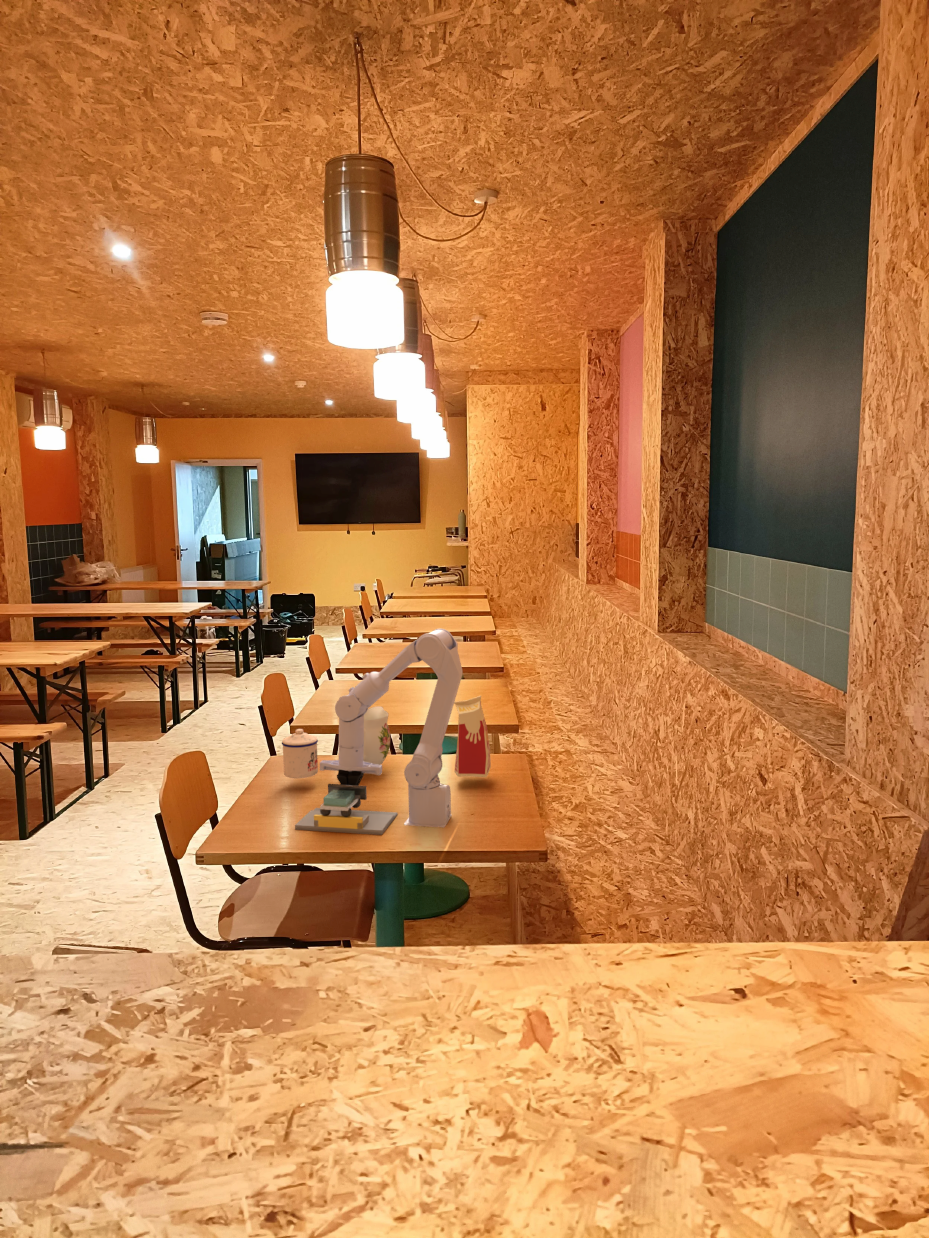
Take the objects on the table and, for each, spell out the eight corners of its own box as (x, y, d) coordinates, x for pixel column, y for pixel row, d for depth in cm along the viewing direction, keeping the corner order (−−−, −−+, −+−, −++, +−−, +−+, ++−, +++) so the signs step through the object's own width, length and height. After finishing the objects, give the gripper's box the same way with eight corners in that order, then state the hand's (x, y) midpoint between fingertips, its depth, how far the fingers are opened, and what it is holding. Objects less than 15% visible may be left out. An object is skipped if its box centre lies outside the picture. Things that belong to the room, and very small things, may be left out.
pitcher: (336, 772, 207) (335, 720, 205) (362, 753, 224) (361, 705, 222) (376, 775, 204) (375, 722, 202) (399, 755, 221) (398, 707, 220)
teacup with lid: (315, 778, 202) (313, 733, 200) (279, 779, 202) (277, 734, 200) (323, 764, 214) (322, 722, 212) (289, 765, 214) (288, 722, 212)
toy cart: (367, 805, 182) (366, 785, 181) (353, 819, 173) (352, 798, 172) (329, 803, 184) (329, 783, 183) (314, 817, 175) (313, 795, 174)
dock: (397, 814, 185) (397, 800, 185) (381, 834, 173) (381, 819, 173) (316, 809, 189) (315, 795, 189) (295, 829, 177) (294, 814, 177)
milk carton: (490, 766, 210) (490, 692, 208) (488, 777, 201) (487, 699, 199) (456, 766, 211) (455, 691, 209) (452, 777, 202) (451, 699, 199)
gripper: (386, 742, 187) (385, 799, 189) (327, 738, 190) (326, 793, 191) (377, 750, 180) (376, 809, 182) (316, 746, 183) (316, 803, 184)
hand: (350, 801), depth 186 cm, fingers closed
